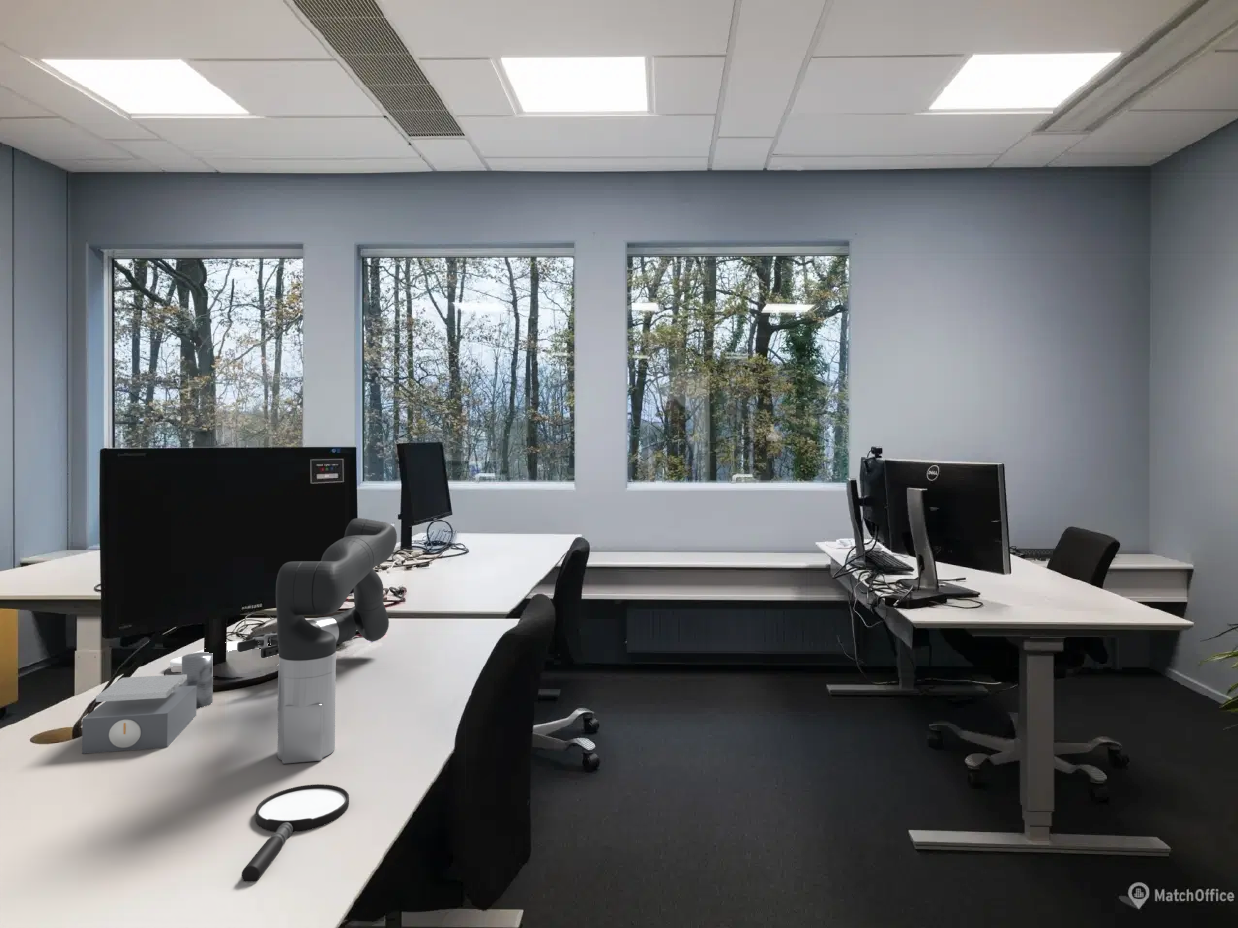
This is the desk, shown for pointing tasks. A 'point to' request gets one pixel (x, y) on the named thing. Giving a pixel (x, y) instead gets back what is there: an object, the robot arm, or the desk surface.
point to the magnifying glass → (293, 819)
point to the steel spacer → (199, 676)
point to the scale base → (138, 722)
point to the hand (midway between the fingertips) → (249, 650)
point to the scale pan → (142, 688)
